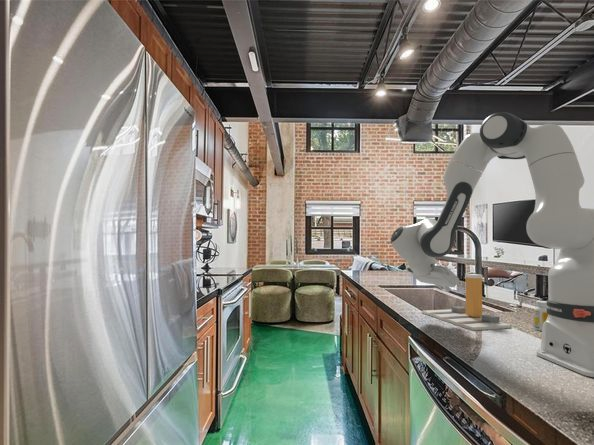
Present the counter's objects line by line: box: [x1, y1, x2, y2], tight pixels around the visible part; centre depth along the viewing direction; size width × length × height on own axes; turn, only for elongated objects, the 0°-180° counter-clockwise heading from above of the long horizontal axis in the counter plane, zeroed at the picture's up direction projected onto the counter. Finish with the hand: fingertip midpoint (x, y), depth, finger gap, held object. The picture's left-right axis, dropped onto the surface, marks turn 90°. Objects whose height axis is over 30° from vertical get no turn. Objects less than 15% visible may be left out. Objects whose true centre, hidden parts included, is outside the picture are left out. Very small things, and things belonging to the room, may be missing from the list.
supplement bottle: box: [533, 300, 548, 332], centre depth 120 cm, size 5×5×10 cm
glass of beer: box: [464, 273, 483, 317], centre depth 135 cm, size 4×4×16 cm
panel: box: [421, 305, 512, 331], centre depth 134 cm, size 28×16×3 cm, turn 15°
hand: (446, 290), depth 132 cm, fingers closed
